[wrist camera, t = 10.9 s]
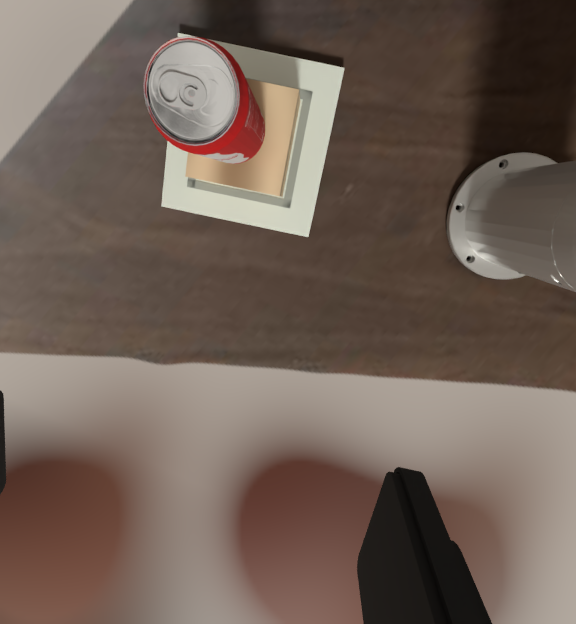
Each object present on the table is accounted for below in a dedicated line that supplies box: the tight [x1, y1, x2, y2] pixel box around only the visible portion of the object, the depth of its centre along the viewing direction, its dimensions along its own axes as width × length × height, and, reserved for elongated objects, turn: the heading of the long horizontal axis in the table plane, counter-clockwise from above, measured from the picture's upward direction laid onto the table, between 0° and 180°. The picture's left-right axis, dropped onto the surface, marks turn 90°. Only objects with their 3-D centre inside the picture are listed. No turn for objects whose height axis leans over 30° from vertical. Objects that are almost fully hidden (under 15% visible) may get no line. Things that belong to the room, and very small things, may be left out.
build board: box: [161, 33, 344, 237], centre depth 38 cm, size 16×16×1 cm
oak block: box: [185, 78, 300, 197], centre depth 35 cm, size 9×9×4 cm
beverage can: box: [144, 36, 265, 164], centre depth 26 cm, size 6×6×15 cm
